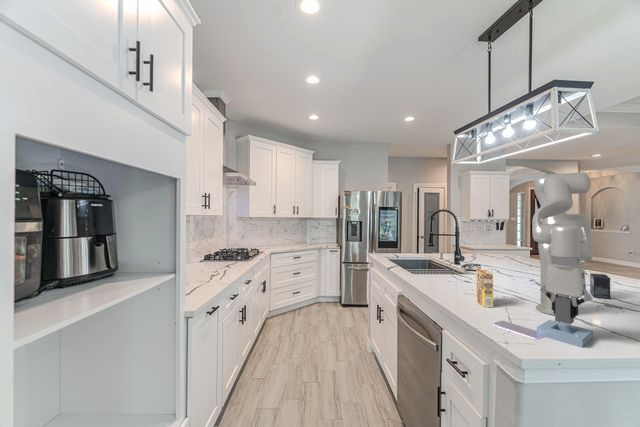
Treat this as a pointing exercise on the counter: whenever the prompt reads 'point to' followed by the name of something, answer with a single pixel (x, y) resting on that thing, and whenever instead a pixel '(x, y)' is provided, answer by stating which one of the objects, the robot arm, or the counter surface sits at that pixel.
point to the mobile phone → (518, 330)
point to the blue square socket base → (565, 333)
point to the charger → (563, 310)
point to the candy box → (485, 288)
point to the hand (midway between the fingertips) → (564, 314)
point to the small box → (600, 286)
